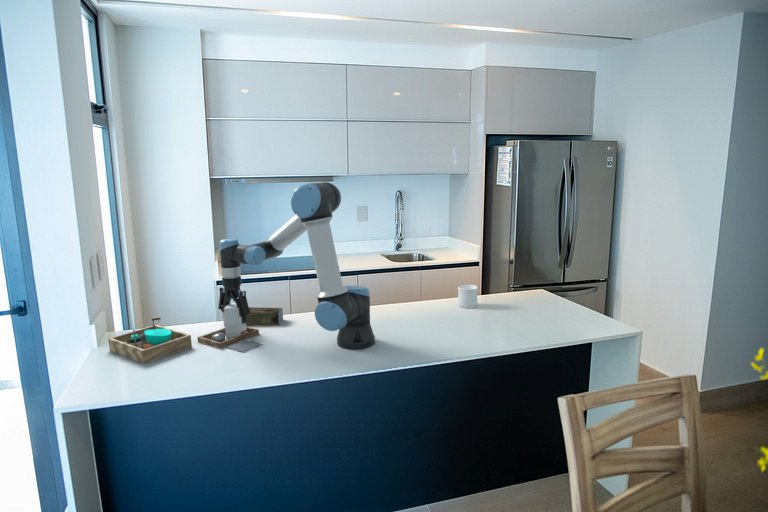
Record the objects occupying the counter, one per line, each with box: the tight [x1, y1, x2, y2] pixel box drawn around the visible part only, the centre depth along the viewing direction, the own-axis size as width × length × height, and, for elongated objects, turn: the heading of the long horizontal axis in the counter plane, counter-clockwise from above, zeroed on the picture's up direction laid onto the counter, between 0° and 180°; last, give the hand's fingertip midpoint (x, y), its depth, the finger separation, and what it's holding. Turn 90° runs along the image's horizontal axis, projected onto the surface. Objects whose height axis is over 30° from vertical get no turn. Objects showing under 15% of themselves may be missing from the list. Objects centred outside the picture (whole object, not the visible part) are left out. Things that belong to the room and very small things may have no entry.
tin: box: [211, 333, 227, 342], centre depth 213 cm, size 5×5×3 cm
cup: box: [457, 283, 479, 309], centre depth 256 cm, size 10×10×10 cm
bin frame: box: [197, 325, 260, 350], centre depth 217 cm, size 14×20×2 cm
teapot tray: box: [108, 324, 193, 365], centre depth 205 cm, size 24×20×5 cm
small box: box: [223, 302, 246, 340], centre depth 219 cm, size 8×6×13 cm
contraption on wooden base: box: [125, 317, 172, 349], centre depth 204 cm, size 14×18×15 cm
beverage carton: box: [246, 306, 284, 326], centre depth 236 cm, size 8×19×7 cm, turn 87°
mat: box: [225, 338, 263, 354], centre depth 207 cm, size 10×10×1 cm
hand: (235, 328), depth 219 cm, fingers closed on small box, 10 cm apart
